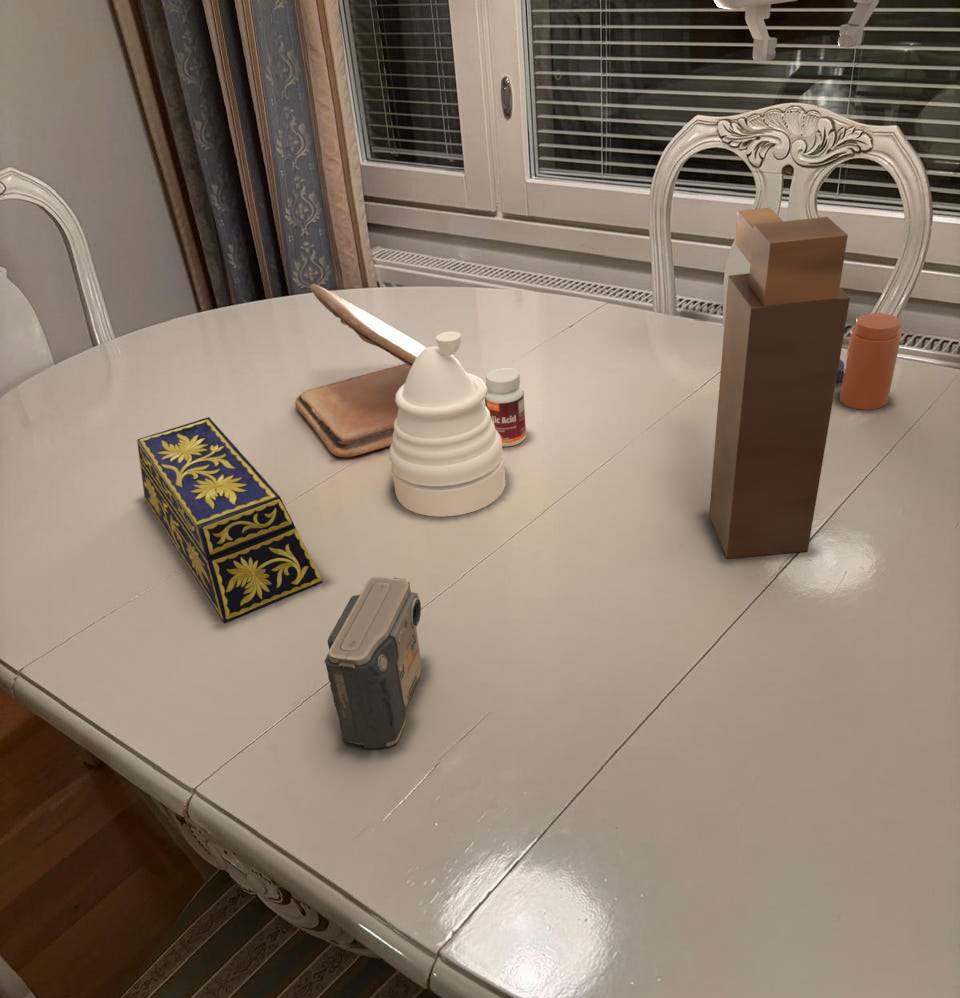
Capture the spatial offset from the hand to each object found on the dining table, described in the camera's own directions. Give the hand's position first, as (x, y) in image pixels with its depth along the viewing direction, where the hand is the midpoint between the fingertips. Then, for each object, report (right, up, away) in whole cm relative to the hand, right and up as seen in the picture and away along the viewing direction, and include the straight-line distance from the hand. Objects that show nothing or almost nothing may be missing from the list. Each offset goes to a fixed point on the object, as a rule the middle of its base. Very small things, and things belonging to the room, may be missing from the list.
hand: (806, 53), depth 90 cm
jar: (+15, -28, +23) cm, 39 cm away
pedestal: (-4, -47, +4) cm, 47 cm away
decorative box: (-60, -46, +13) cm, 77 cm away
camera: (-40, -63, -10) cm, 76 cm away
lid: (+12, -22, +29) cm, 38 cm away
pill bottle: (-29, -33, +24) cm, 50 cm away
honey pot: (-35, -40, +17) cm, 56 cm away
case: (-44, -27, +33) cm, 62 cm away
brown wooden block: (-6, -25, -9) cm, 27 cm away
